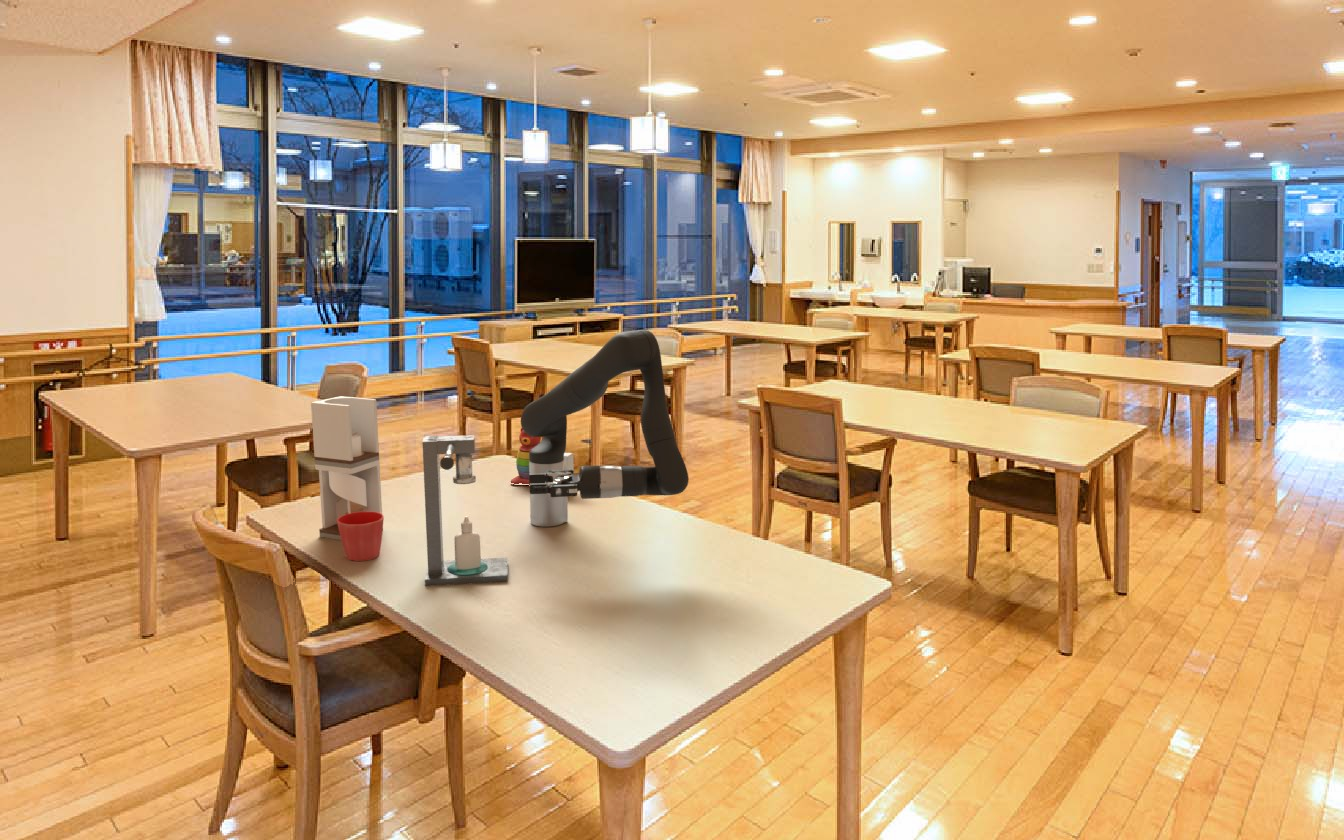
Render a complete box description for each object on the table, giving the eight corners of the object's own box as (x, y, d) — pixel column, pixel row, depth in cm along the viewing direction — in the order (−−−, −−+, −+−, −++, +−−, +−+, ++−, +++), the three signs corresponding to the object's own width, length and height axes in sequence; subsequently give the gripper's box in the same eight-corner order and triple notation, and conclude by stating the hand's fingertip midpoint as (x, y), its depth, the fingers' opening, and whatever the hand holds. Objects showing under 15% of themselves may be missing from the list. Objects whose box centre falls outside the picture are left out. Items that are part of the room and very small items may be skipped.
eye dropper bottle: (459, 563, 218) (458, 513, 216) (483, 564, 217) (481, 514, 215) (452, 569, 214) (450, 518, 212) (476, 571, 213) (474, 520, 211)
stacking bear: (507, 485, 294) (506, 429, 290) (523, 477, 303) (522, 423, 300) (538, 488, 290) (537, 432, 287) (553, 480, 299) (553, 426, 296)
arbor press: (507, 563, 223) (504, 431, 217) (507, 603, 199) (503, 455, 193) (429, 567, 220) (423, 433, 214) (420, 608, 196) (413, 458, 190)
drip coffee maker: (319, 536, 242) (310, 402, 235) (348, 525, 252) (340, 396, 245) (355, 542, 238) (347, 405, 231) (383, 530, 247) (376, 399, 241)
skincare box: (574, 491, 287) (574, 453, 285) (568, 494, 283) (567, 456, 281) (556, 489, 289) (555, 451, 287) (550, 493, 285) (549, 454, 283)
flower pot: (343, 566, 221) (340, 526, 219) (336, 552, 230) (333, 514, 228) (389, 559, 225) (387, 520, 224) (380, 546, 235) (378, 508, 233)
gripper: (598, 458, 222) (528, 460, 219) (604, 474, 208) (529, 476, 205) (597, 489, 223) (528, 491, 221) (603, 506, 210) (530, 509, 207)
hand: (529, 483), depth 213 cm, fingers open, 8 cm apart
